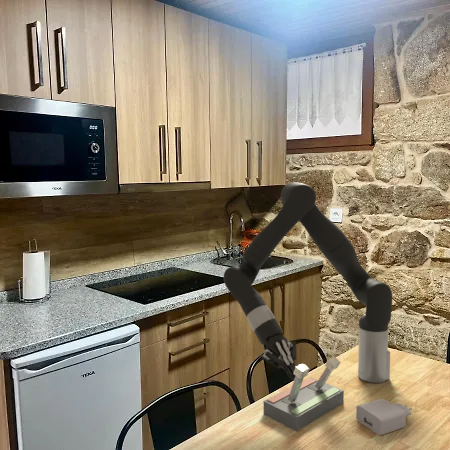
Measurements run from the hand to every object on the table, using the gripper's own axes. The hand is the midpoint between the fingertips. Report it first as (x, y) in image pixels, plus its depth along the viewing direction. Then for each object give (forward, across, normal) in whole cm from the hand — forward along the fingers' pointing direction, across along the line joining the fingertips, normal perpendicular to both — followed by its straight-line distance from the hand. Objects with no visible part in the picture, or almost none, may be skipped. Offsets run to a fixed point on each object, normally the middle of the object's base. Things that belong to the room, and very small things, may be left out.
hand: (295, 378), depth 122 cm
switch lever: (+4, 0, +6) cm, 8 cm away
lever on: (+4, +12, +6) cm, 14 cm away
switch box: (+7, +6, +9) cm, 13 cm away
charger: (+21, +18, -5) cm, 28 cm away
